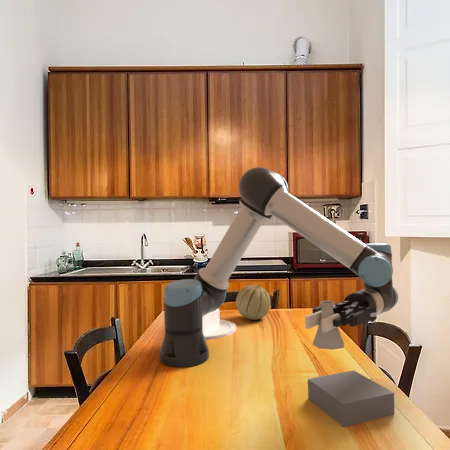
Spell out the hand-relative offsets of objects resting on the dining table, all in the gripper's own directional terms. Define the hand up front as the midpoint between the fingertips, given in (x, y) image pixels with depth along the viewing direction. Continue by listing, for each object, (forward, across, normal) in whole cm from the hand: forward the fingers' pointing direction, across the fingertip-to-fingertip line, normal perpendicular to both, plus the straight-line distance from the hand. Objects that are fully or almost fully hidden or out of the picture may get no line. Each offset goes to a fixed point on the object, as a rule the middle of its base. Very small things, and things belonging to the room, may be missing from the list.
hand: (315, 324), depth 81 cm
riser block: (-6, -4, -19) cm, 21 cm away
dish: (-25, +65, -19) cm, 72 cm away
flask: (-5, 0, -6) cm, 8 cm away
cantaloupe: (-49, +60, -19) cm, 80 cm away
